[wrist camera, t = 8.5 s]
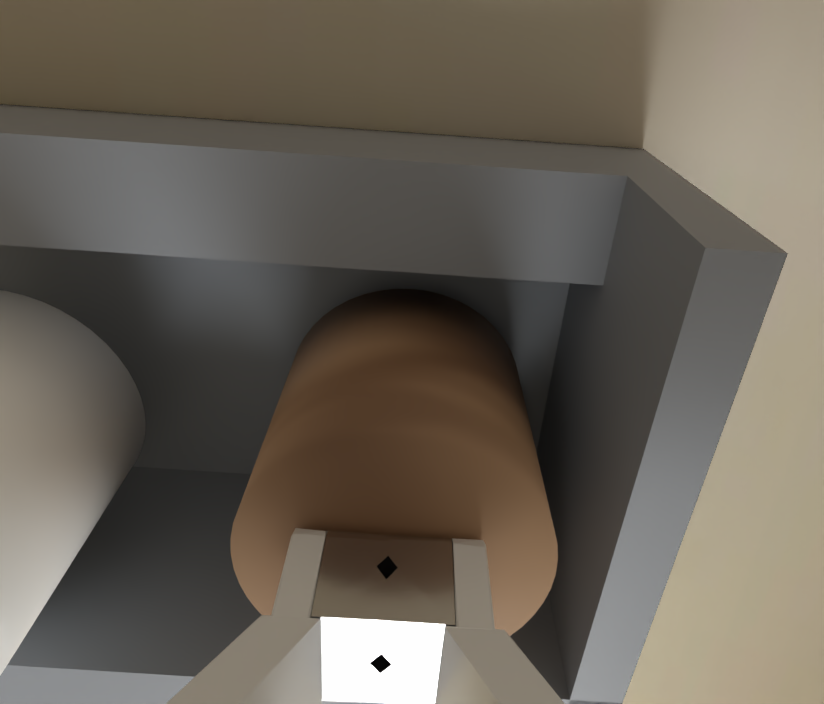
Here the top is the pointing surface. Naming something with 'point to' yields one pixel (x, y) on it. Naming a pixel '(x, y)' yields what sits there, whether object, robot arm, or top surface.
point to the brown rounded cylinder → (402, 447)
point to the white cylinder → (55, 451)
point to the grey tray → (328, 288)
